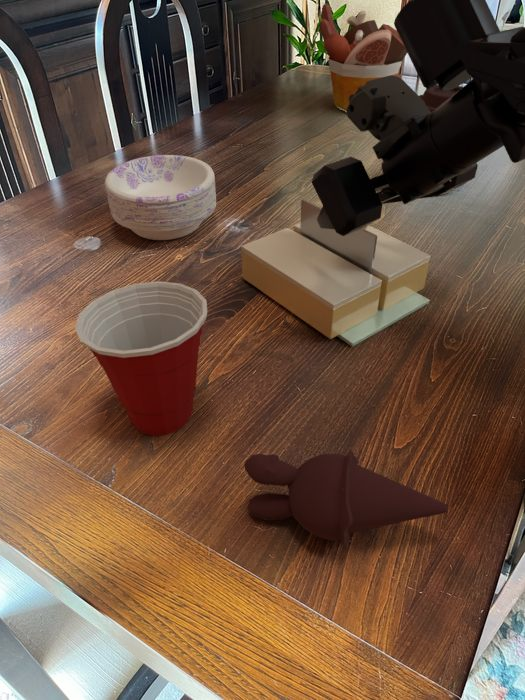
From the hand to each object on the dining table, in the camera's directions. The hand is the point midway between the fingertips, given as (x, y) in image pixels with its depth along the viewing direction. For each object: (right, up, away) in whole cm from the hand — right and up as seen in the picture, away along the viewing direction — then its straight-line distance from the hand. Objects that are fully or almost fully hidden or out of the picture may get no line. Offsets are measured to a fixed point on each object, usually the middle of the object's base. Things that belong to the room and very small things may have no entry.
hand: (350, 211), depth 61 cm
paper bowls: (-24, +3, +21) cm, 32 cm away
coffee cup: (+18, +11, +31) cm, 37 cm away
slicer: (-1, -4, +6) cm, 7 cm away
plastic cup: (-19, -21, -8) cm, 30 cm away
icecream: (-4, -29, -17) cm, 34 cm away
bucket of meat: (+12, +39, +64) cm, 76 cm away
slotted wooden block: (-1, -7, +8) cm, 11 cm away
